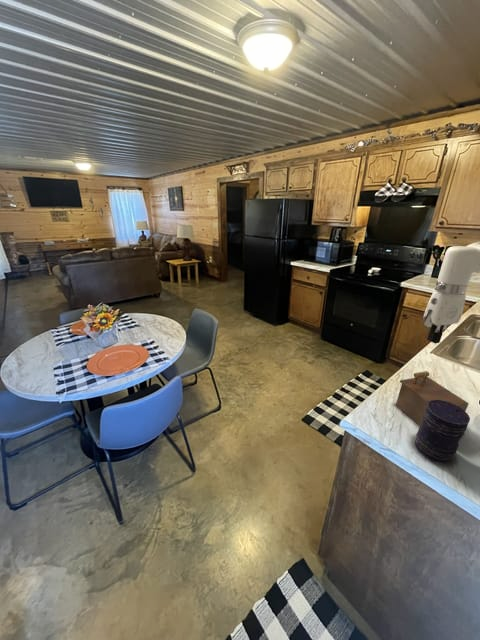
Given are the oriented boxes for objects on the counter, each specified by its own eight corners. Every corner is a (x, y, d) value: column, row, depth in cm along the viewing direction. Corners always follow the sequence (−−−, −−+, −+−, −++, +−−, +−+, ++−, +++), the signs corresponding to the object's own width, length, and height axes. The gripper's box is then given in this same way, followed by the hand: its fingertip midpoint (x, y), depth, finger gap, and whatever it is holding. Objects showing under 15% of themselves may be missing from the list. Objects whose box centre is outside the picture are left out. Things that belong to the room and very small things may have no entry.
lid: (399, 382, 95) (402, 370, 93) (425, 377, 98) (429, 366, 96) (439, 411, 81) (444, 398, 79) (468, 405, 84) (473, 393, 82)
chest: (395, 405, 98) (401, 383, 94) (420, 400, 101) (427, 379, 97) (430, 435, 85) (439, 411, 81) (458, 428, 88) (468, 405, 84)
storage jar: (429, 465, 75) (445, 425, 69) (406, 437, 84) (419, 400, 78) (461, 463, 76) (480, 423, 70) (436, 436, 85) (450, 398, 79)
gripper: (442, 293, 75) (424, 349, 82) (481, 290, 79) (461, 344, 86) (420, 286, 82) (405, 338, 89) (457, 283, 85) (440, 334, 92)
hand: (432, 341), depth 87 cm, fingers closed
